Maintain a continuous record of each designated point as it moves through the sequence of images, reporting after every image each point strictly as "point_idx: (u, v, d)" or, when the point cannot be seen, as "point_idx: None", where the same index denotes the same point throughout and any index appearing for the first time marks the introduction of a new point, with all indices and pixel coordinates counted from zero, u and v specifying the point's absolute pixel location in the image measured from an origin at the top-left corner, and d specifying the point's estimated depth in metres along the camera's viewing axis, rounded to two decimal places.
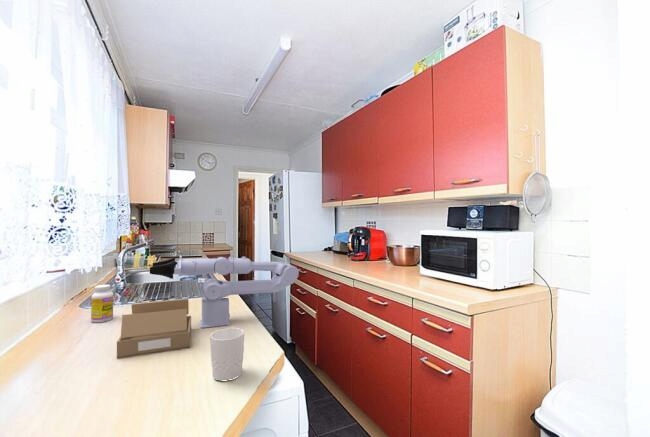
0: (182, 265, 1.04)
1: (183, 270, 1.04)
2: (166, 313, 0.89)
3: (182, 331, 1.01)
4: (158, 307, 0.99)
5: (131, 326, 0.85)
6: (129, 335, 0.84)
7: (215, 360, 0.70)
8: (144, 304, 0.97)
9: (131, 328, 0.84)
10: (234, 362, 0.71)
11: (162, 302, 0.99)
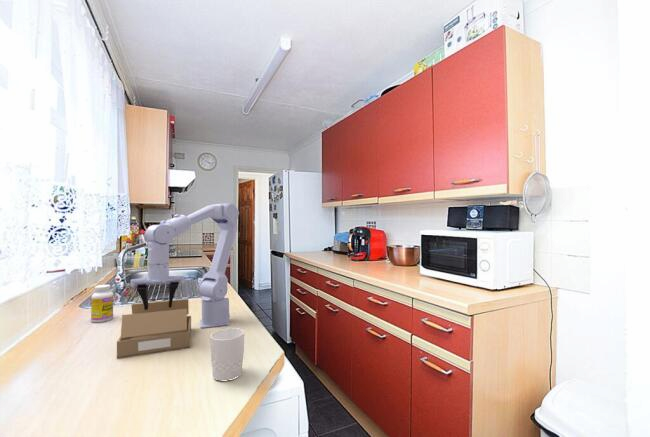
0: (167, 276, 0.94)
1: None
2: (166, 313, 0.89)
3: (182, 331, 1.01)
4: (158, 307, 0.99)
5: (131, 326, 0.85)
6: (129, 335, 0.84)
7: (215, 360, 0.70)
8: None
9: (131, 328, 0.84)
10: (234, 362, 0.71)
11: (162, 302, 0.99)
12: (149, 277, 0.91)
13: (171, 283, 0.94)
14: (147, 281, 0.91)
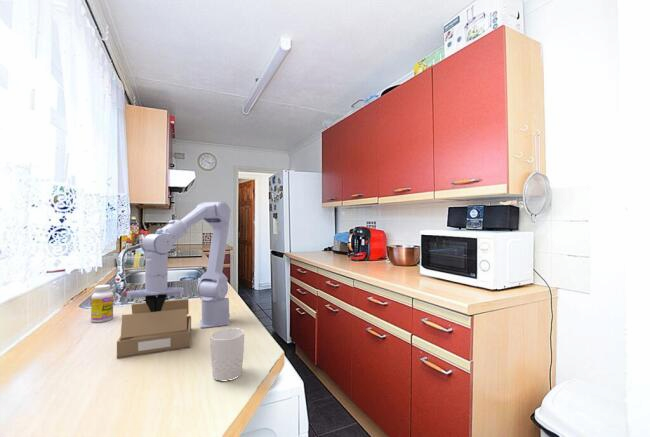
0: (166, 288, 0.89)
1: None
2: (166, 313, 0.89)
3: (182, 331, 1.01)
4: None
5: (131, 326, 0.85)
6: (129, 335, 0.84)
7: (215, 360, 0.70)
8: (144, 304, 0.97)
9: (131, 328, 0.84)
10: (234, 362, 0.71)
11: None
12: (146, 288, 0.87)
13: None
14: (144, 293, 0.86)
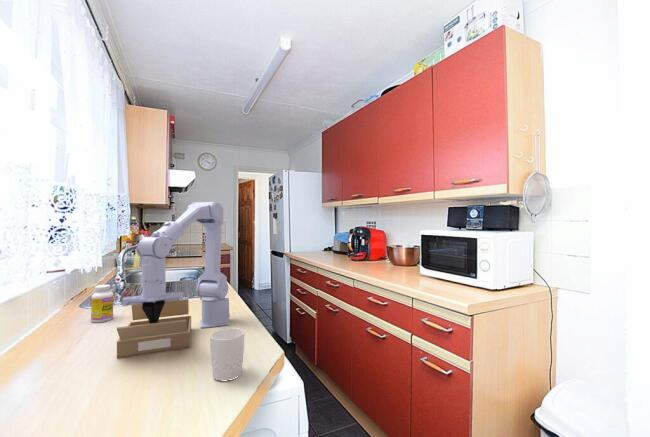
0: (164, 294, 0.85)
1: (165, 291, 0.86)
2: (164, 324, 0.84)
3: None
4: None
5: (129, 333, 0.82)
6: (129, 338, 0.83)
7: (215, 360, 0.70)
8: None
9: (129, 334, 0.82)
10: (234, 362, 0.71)
11: None
12: (143, 295, 0.82)
13: None
14: (141, 300, 0.82)
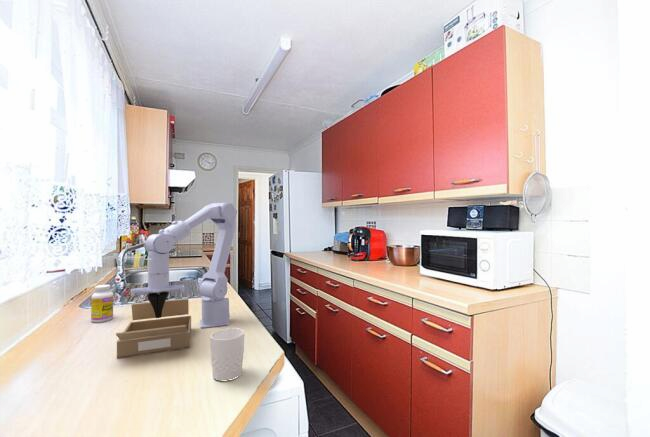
0: (167, 286, 0.94)
1: None
2: (164, 329, 0.83)
3: None
4: None
5: (129, 336, 0.82)
6: (129, 338, 0.83)
7: (215, 360, 0.70)
8: (144, 304, 0.97)
9: (129, 336, 0.82)
10: (234, 362, 0.71)
11: None
12: (149, 286, 0.91)
13: (171, 292, 0.94)
14: (147, 291, 0.91)
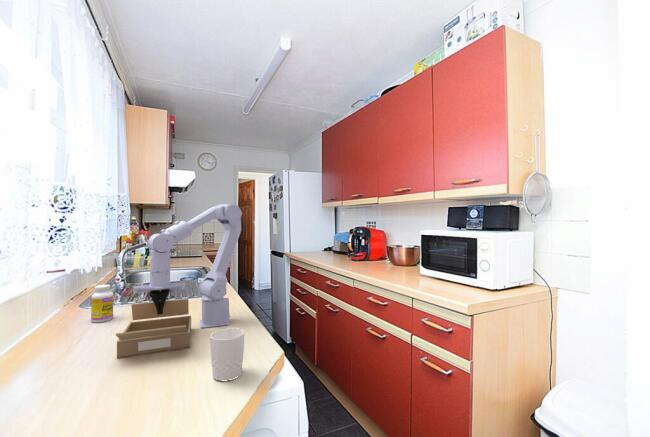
0: (169, 283, 0.97)
1: None
2: (164, 329, 0.83)
3: None
4: None
5: (129, 336, 0.82)
6: (129, 338, 0.83)
7: (215, 360, 0.70)
8: (144, 304, 0.97)
9: (129, 337, 0.82)
10: (234, 362, 0.71)
11: None
12: (151, 284, 0.95)
13: None
14: (149, 288, 0.94)
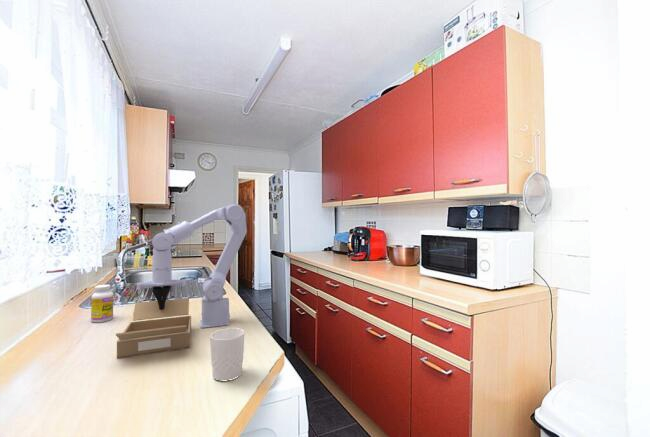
0: (170, 280, 1.03)
1: None
2: (164, 329, 0.83)
3: None
4: None
5: (129, 336, 0.82)
6: (129, 338, 0.83)
7: (215, 360, 0.70)
8: (147, 303, 1.03)
9: (129, 337, 0.82)
10: (234, 362, 0.71)
11: None
12: (153, 280, 1.00)
13: None
14: (152, 284, 0.99)
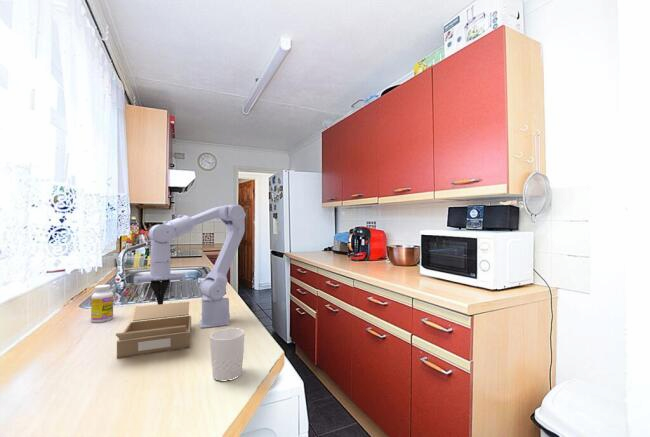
0: (169, 274, 0.98)
1: None
2: (164, 329, 0.83)
3: None
4: (160, 308, 1.04)
5: (129, 336, 0.82)
6: (129, 338, 0.83)
7: (215, 360, 0.70)
8: (147, 306, 1.04)
9: (129, 337, 0.82)
10: (234, 362, 0.71)
11: (164, 304, 1.06)
12: (151, 274, 0.96)
13: None
14: (150, 278, 0.95)
